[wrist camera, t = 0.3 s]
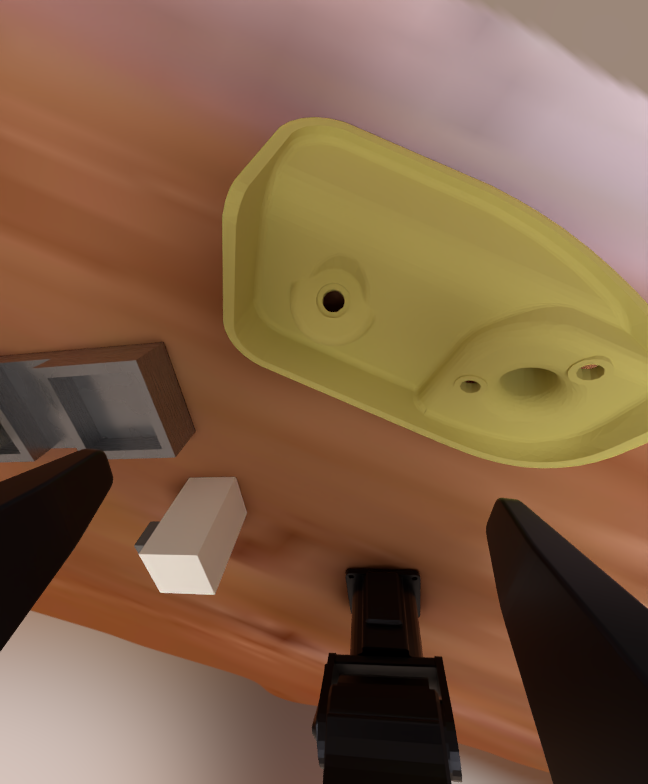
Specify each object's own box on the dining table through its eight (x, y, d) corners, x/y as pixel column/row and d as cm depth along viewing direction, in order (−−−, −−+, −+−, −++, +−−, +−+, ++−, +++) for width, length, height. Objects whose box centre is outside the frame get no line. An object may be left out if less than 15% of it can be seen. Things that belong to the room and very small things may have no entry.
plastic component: (223, 350, 19) (221, 160, 11) (275, 278, 24) (300, 102, 16) (541, 486, 20) (765, 395, 11) (535, 390, 24) (695, 274, 16)
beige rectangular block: (247, 512, 29) (214, 594, 23) (190, 512, 30) (144, 591, 24) (235, 476, 27) (197, 555, 21) (175, 478, 28) (121, 553, 22)
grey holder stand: (195, 431, 25) (123, 524, 18) (-8, 439, 28) (-142, 523, 21) (163, 342, 22) (59, 410, 15) (-62, 361, 25) (-245, 426, 17)
